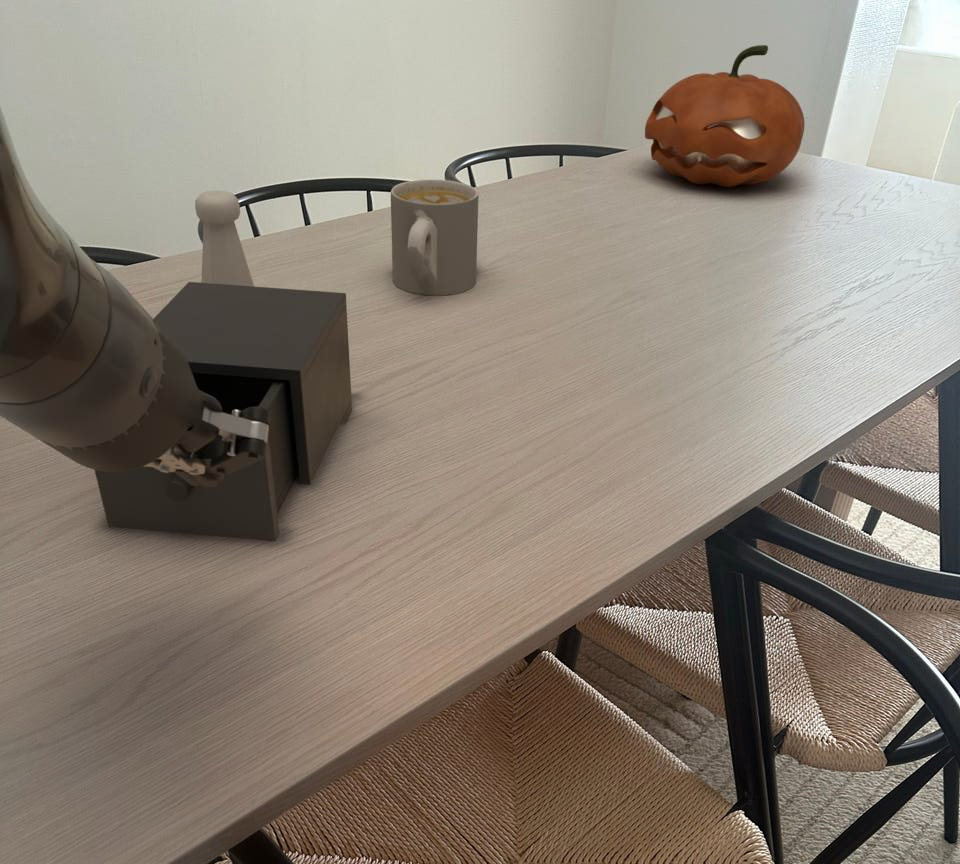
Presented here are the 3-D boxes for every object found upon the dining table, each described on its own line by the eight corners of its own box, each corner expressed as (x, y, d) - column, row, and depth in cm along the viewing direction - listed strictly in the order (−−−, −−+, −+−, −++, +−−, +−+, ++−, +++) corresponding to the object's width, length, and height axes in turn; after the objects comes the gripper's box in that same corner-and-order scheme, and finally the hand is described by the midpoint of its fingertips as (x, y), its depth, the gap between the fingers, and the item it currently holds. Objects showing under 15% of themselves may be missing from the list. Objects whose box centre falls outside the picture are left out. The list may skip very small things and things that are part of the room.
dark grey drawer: (271, 553, 71) (257, 442, 66) (101, 537, 72) (73, 427, 66) (321, 448, 83) (313, 347, 78) (176, 436, 84) (158, 335, 78)
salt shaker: (198, 315, 107) (179, 188, 99) (250, 308, 109) (235, 182, 101) (213, 335, 103) (194, 204, 95) (266, 327, 105) (252, 198, 97)
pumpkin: (607, 177, 156) (621, 38, 144) (688, 150, 171) (708, 22, 159) (748, 211, 144) (777, 63, 132) (822, 179, 159) (854, 44, 147)
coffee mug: (416, 261, 123) (415, 174, 116) (489, 274, 120) (492, 187, 113) (362, 295, 113) (358, 203, 107) (440, 311, 110) (441, 218, 104)
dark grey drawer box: (311, 497, 79) (300, 370, 72) (143, 483, 80) (117, 355, 73) (352, 409, 91) (345, 292, 84) (206, 397, 92) (188, 281, 85)
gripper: (235, 290, 43) (320, 419, 60) (-56, 270, 44) (111, 403, 61) (214, 457, 42) (306, 540, 60) (-81, 433, 43) (94, 521, 60)
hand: (207, 470), depth 60 cm, fingers closed
